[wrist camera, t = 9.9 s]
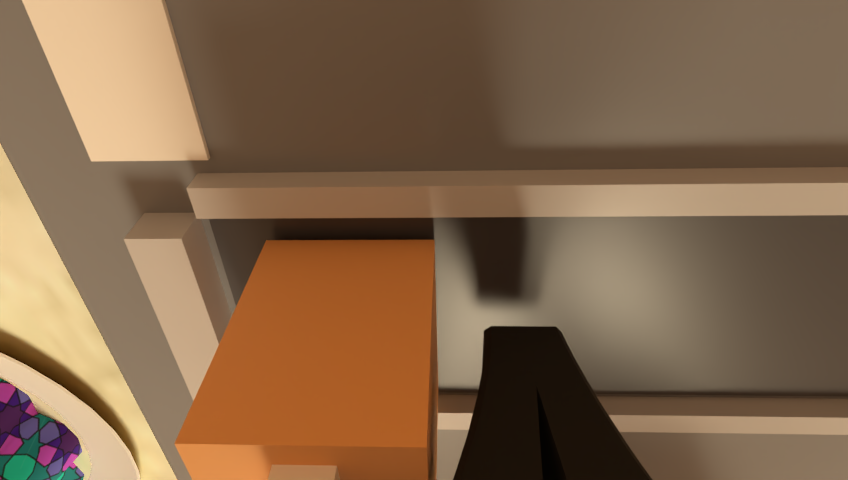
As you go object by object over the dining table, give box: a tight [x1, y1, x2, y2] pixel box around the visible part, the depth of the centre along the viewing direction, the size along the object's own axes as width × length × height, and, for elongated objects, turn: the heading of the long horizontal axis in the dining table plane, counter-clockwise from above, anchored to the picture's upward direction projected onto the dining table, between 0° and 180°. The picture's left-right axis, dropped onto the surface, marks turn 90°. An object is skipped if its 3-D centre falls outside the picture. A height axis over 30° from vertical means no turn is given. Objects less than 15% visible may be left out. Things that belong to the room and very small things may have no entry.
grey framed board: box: [0, 0, 848, 480], centre depth 11 cm, size 14×20×2 cm
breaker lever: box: [174, 240, 438, 480], centre depth 9 cm, size 4×3×5 cm
